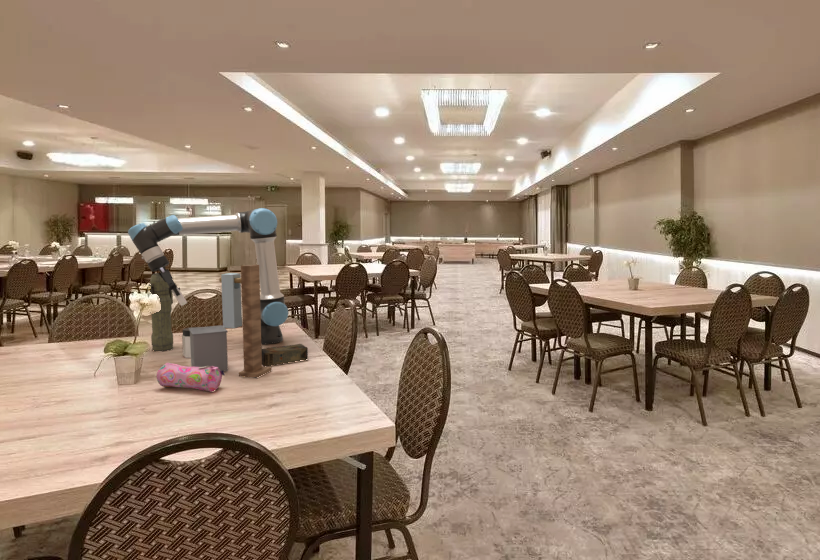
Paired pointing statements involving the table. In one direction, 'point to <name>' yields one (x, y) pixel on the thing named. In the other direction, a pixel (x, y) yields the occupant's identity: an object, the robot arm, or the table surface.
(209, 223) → the robot arm
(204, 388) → the pencil case
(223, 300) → the grey tall block
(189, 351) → the jar
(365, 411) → the table surface
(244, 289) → the walnut stand
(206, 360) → the lidded box
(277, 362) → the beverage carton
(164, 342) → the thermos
